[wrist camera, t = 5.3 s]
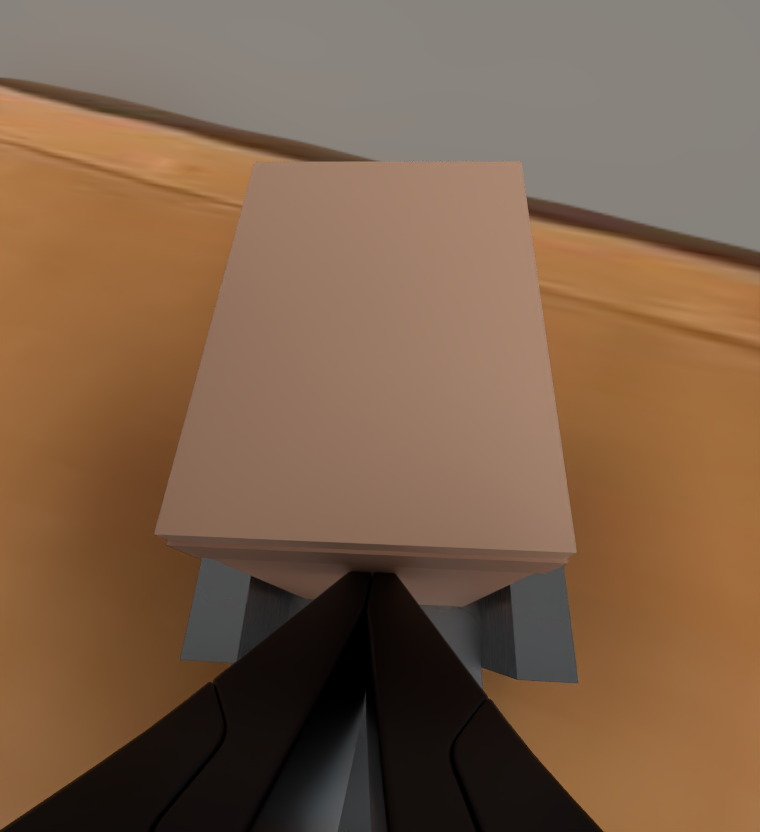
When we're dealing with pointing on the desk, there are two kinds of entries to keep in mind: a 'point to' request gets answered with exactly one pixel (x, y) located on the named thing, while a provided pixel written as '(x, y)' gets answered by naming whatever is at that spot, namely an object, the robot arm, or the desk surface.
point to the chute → (460, 626)
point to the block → (376, 387)
